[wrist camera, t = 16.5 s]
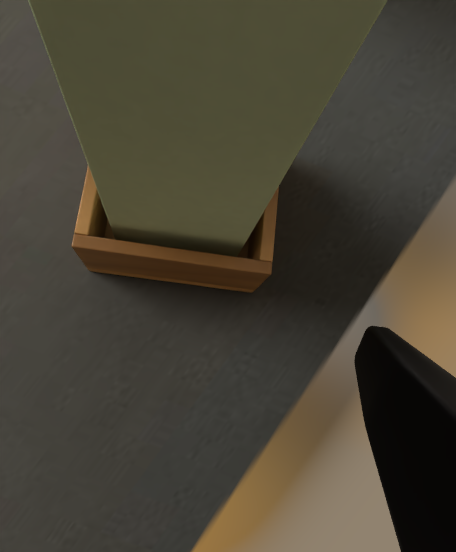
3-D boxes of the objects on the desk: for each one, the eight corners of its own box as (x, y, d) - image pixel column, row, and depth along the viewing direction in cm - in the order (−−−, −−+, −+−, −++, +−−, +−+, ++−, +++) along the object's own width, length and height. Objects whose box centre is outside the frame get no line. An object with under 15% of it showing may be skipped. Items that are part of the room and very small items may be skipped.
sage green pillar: (233, 263, 19) (538, -250, 3) (117, 248, 18) (-140, -448, 3) (243, 161, 20) (502, -560, 5) (135, 143, 20) (20, -741, 4)
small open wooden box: (252, 293, 19) (271, 274, 16) (88, 271, 18) (71, 246, 15) (266, 149, 21) (286, 104, 18) (116, 124, 20) (106, 71, 17)
